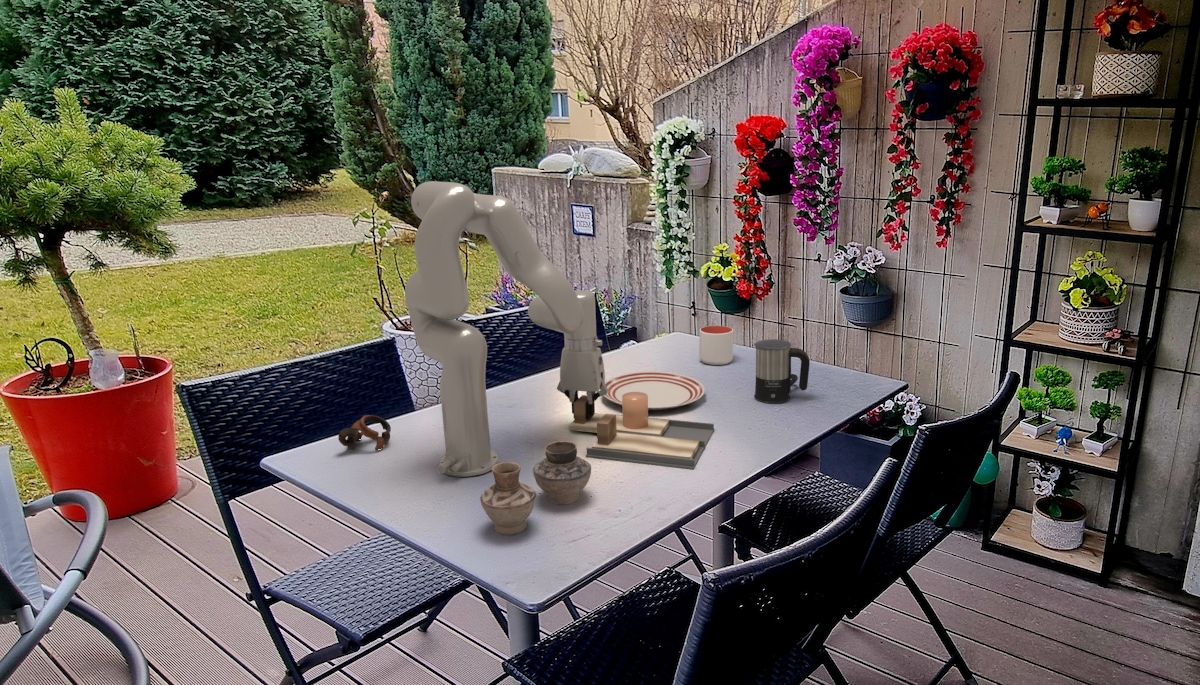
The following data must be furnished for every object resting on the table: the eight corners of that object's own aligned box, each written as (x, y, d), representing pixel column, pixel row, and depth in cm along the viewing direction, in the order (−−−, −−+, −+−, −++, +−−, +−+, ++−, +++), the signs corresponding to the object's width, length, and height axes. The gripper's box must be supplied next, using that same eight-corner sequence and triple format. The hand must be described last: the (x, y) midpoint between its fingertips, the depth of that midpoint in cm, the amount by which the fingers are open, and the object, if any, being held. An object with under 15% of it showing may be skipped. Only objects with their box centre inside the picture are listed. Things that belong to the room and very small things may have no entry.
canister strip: (659, 439, 176) (659, 413, 174) (569, 429, 183) (568, 405, 181) (669, 424, 184) (669, 400, 182) (582, 416, 191) (581, 392, 189)
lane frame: (693, 469, 162) (693, 461, 161) (585, 457, 169) (585, 449, 169) (714, 429, 182) (714, 422, 182) (617, 420, 190) (617, 413, 189)
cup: (698, 366, 230) (698, 333, 228) (700, 356, 240) (700, 325, 237) (732, 366, 229) (733, 334, 226) (732, 357, 238) (733, 325, 236)
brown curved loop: (367, 437, 186) (381, 410, 184) (388, 462, 182) (402, 435, 179) (324, 441, 176) (337, 412, 174) (345, 468, 172) (359, 439, 169)
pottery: (469, 529, 141) (464, 469, 137) (561, 480, 159) (558, 425, 156) (513, 549, 134) (509, 485, 130) (604, 494, 152) (602, 438, 149)
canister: (644, 430, 178) (643, 401, 176) (619, 427, 180) (618, 399, 178) (651, 420, 184) (650, 393, 182) (627, 418, 186) (626, 390, 184)
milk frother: (760, 405, 197) (761, 349, 193) (740, 385, 212) (741, 333, 208) (813, 401, 199) (816, 345, 195) (790, 382, 214) (792, 330, 210)
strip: (690, 462, 163) (690, 435, 162) (592, 451, 170) (591, 425, 169) (699, 446, 171) (699, 419, 170) (605, 436, 178) (604, 411, 177)
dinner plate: (726, 401, 201) (726, 389, 200) (642, 425, 187) (642, 413, 186) (660, 376, 223) (660, 365, 222) (581, 396, 209) (580, 384, 208)
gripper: (618, 341, 182) (620, 414, 187) (554, 337, 187) (558, 408, 192) (608, 350, 175) (610, 426, 180) (542, 345, 180) (546, 419, 185)
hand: (583, 416), depth 186 cm, fingers closed on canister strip, 2 cm apart
